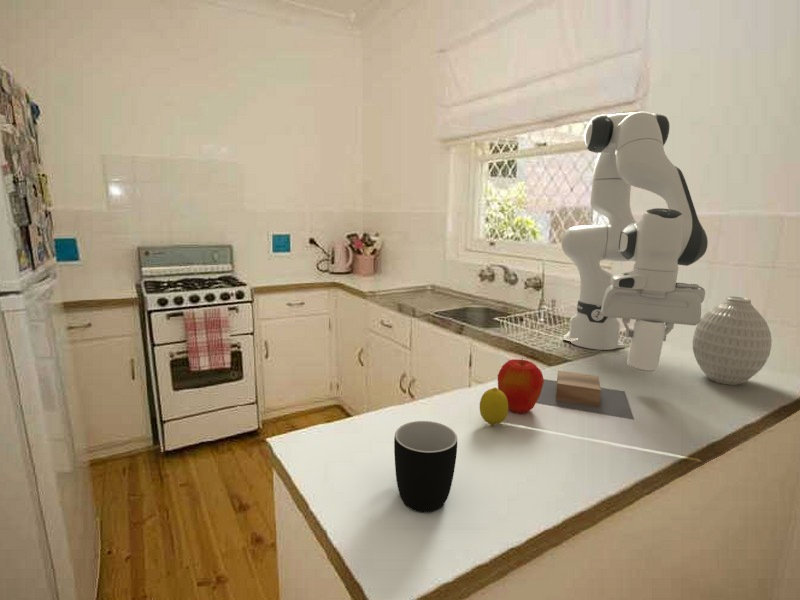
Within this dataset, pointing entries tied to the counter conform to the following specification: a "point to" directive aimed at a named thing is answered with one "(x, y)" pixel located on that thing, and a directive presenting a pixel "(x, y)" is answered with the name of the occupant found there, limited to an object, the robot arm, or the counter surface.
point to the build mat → (608, 405)
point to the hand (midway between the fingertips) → (644, 338)
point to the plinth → (578, 388)
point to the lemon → (493, 406)
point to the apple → (520, 384)
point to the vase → (732, 341)
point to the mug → (424, 464)
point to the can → (646, 345)
